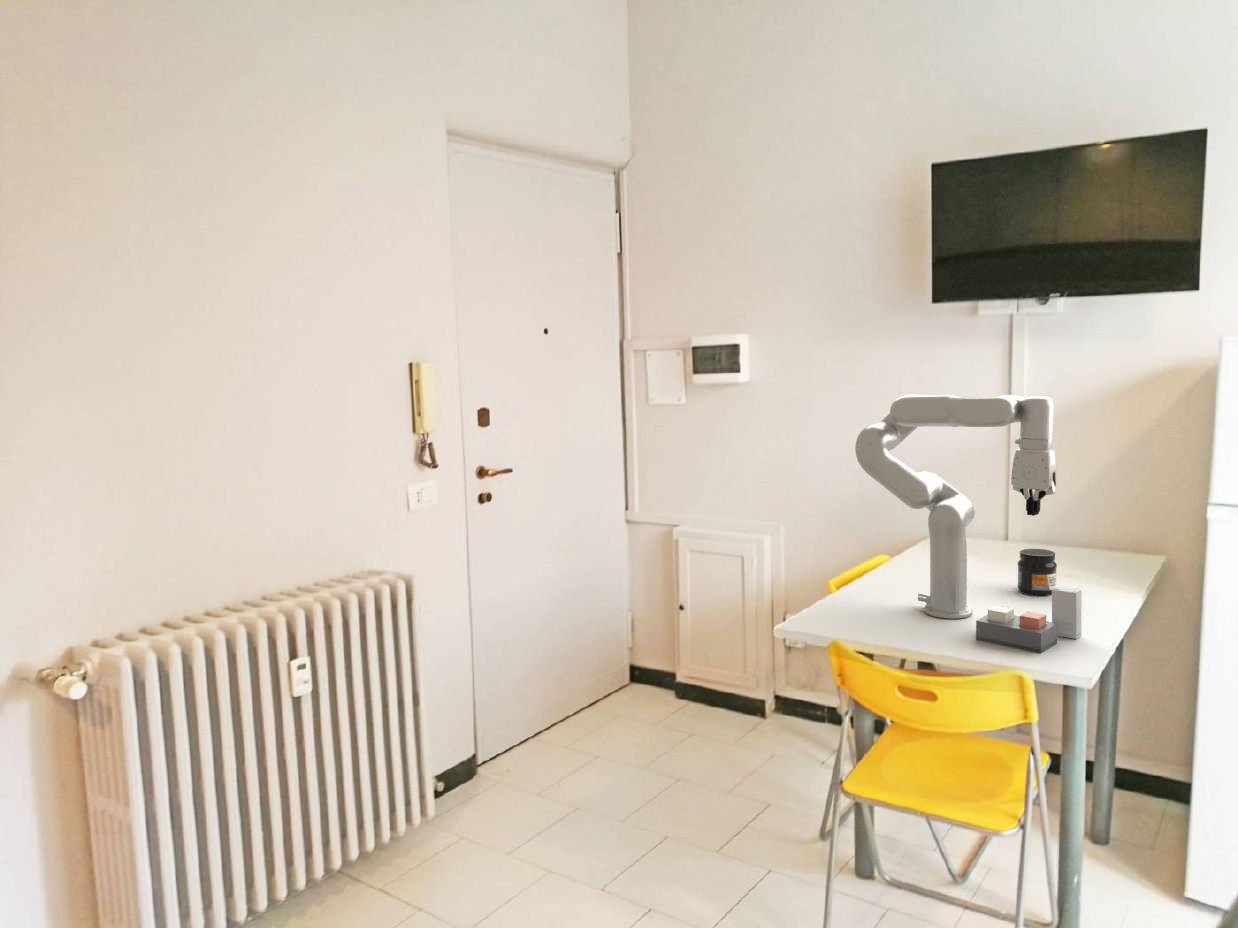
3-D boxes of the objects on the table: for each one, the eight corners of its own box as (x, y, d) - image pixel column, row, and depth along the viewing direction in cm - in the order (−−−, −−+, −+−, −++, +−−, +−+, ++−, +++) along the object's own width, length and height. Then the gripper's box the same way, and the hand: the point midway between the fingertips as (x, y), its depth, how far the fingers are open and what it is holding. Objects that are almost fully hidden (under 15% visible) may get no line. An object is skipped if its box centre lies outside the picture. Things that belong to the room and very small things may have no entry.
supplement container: (1060, 596, 265) (1061, 556, 263) (1021, 596, 267) (1022, 556, 266) (1051, 587, 275) (1051, 548, 274) (1013, 586, 277) (1014, 547, 276)
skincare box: (1082, 635, 231) (1083, 588, 230) (1076, 640, 228) (1077, 592, 227) (1056, 631, 236) (1057, 585, 234) (1050, 635, 232) (1051, 589, 231)
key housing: (976, 639, 231) (976, 620, 231) (993, 630, 238) (993, 611, 238) (1040, 653, 220) (1041, 633, 219) (1057, 642, 227) (1057, 623, 226)
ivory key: (987, 626, 232) (987, 609, 231) (995, 622, 235) (995, 605, 234) (1005, 630, 228) (1005, 612, 228) (1013, 625, 231) (1013, 608, 231)
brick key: (1019, 633, 226) (1019, 615, 225) (1027, 628, 229) (1027, 611, 228) (1038, 636, 223) (1038, 619, 222) (1046, 632, 226) (1046, 614, 225)
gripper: (1000, 444, 240) (998, 512, 242) (1057, 448, 228) (1054, 520, 231) (1014, 441, 244) (1012, 508, 247) (1071, 445, 233) (1068, 516, 236)
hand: (1032, 514), depth 239 cm, fingers closed
